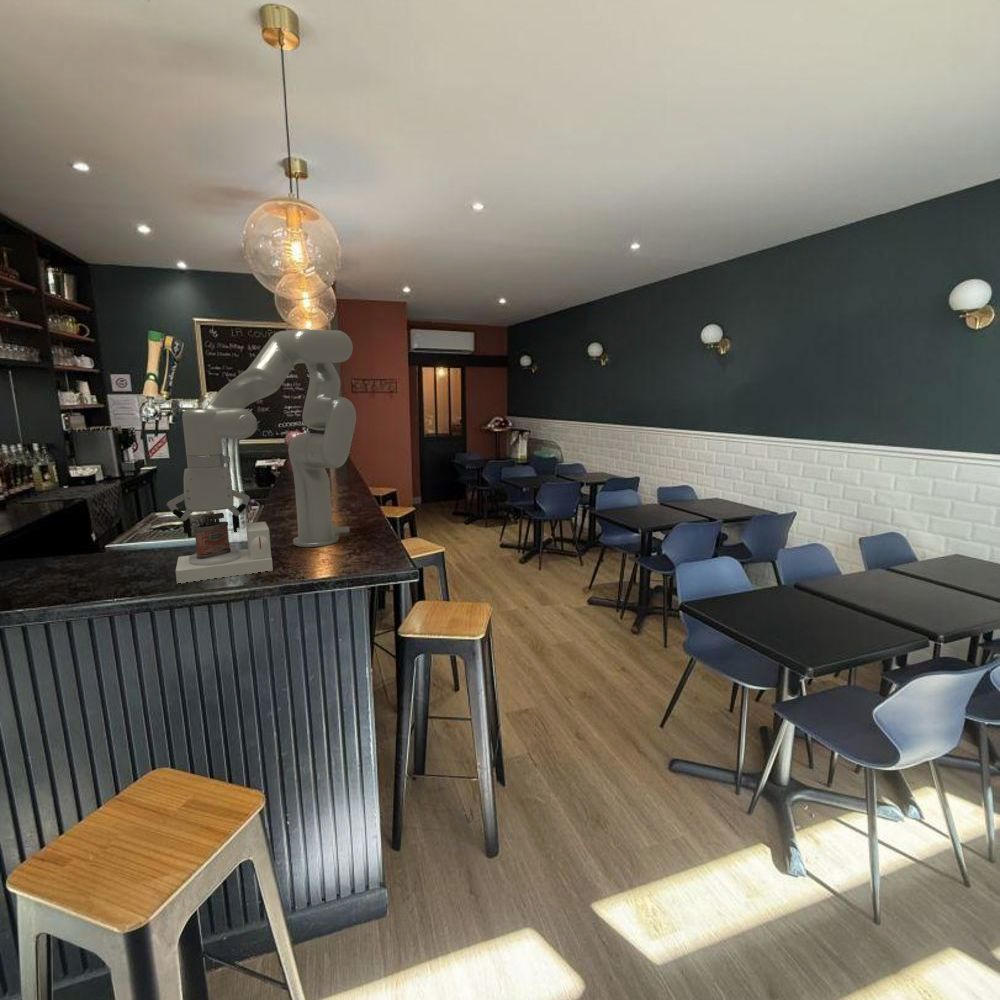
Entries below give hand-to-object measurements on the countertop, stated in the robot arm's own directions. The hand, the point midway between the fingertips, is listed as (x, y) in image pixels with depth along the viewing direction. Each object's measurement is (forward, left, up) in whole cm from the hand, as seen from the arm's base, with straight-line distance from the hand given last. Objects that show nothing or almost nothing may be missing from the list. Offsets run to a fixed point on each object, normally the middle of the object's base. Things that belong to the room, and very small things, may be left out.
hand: (212, 533), depth 128 cm
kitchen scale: (-2, 0, -9) cm, 10 cm away
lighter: (0, 0, -6) cm, 6 cm away
